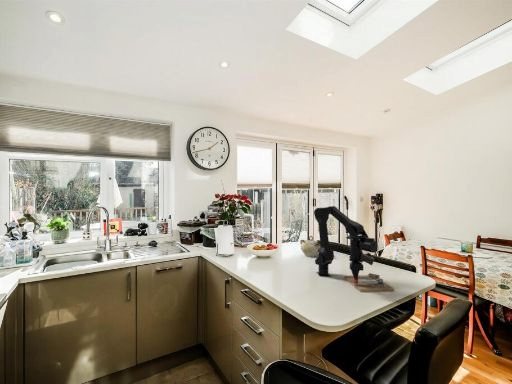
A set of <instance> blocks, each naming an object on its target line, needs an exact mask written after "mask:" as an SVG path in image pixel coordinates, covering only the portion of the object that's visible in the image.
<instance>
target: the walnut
mask: <svg viewBox="0 0 512 384" xmlns="http://www.w3.org/2000/svg"><path fill="white" fill-rule="evenodd" d="M368 274H369V273H368ZM374 274H375V273H372V274H369V276H368V277H369V279H372V280H375V278H376V277H375V275H374Z"/></svg>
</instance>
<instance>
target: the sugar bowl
mask: <svg viewBox="0 0 512 384" xmlns="http://www.w3.org/2000/svg"><path fill="white" fill-rule="evenodd" d="M299 243H300V250H301V252H302V253H303V255H304V256H305V257H317V255H319V250H320V248H321V245H320V242H318V241H316V240H314V237H313V236H312V235H310V236H309V237H308V239H307V240H305V239H301V240H300V241H299Z"/></svg>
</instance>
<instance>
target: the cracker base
mask: <svg viewBox="0 0 512 384" xmlns="http://www.w3.org/2000/svg"><path fill="white" fill-rule="evenodd" d="M369 274H374V275H375V277H376V278H380V274H377V273H376V274H375V273H371V272H370V273H368V274H367V275H366V274H365V275H364V274H363V275H360V274H358V279H364V280H365V279H369V277H368V276H369ZM343 278H344V280H346V281H347V282H348V283H350V284H351V285H352V286H353V287H354V288H355V289H356V290H357V291H359V292H361V293H362V292H363V293H364V292H365V293H366V292H367V293H370V292H373V293H374V292H394V291H395V289H394V287H392V286H390V285H389V284H387V283H386V282H385V281H383V284H355V283H353V274H351V275H343ZM376 278H375V280H376Z"/></svg>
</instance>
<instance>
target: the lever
mask: <svg viewBox="0 0 512 384" xmlns="http://www.w3.org/2000/svg"><path fill="white" fill-rule="evenodd" d="M383 282H384V279H383V278H380V277H379V278H376V280H372V279H365V280H364V279H358V278H357V280H355V279H354V276H353V283H355V284H383Z"/></svg>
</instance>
